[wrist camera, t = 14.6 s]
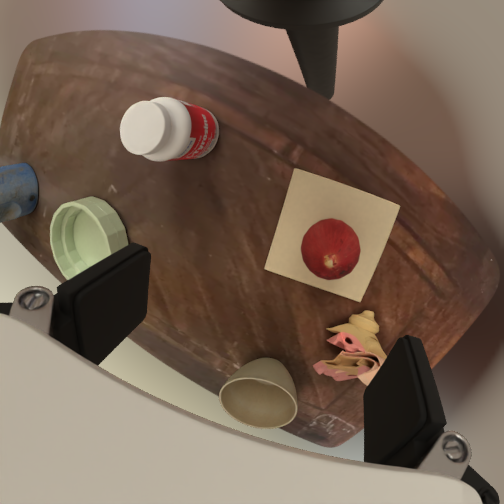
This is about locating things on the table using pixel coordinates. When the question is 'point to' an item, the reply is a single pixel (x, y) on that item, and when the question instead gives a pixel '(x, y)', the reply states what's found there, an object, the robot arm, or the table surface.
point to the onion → (330, 249)
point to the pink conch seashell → (354, 350)
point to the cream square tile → (324, 207)
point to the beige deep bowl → (260, 395)
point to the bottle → (17, 191)
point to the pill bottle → (168, 130)
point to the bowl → (85, 234)
